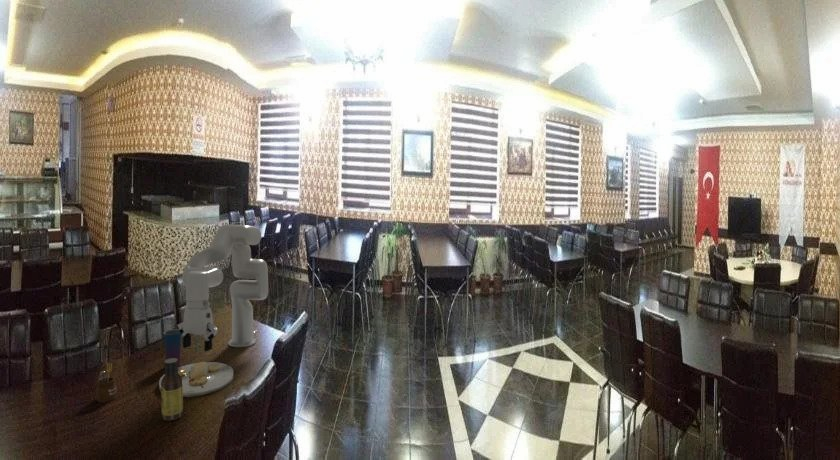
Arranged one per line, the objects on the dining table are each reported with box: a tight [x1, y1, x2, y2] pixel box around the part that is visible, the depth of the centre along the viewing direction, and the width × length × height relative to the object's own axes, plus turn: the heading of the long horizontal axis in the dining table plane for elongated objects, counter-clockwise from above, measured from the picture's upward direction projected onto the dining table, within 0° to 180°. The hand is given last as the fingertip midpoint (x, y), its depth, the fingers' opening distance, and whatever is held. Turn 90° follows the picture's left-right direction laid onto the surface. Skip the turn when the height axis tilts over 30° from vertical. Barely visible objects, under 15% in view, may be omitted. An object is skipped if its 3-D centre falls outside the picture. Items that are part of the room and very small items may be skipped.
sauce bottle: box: [160, 358, 184, 422], centre depth 143 cm, size 6×6×20 cm
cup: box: [162, 328, 183, 367], centre depth 182 cm, size 7×7×15 cm
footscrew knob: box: [189, 361, 208, 386], centre depth 163 cm, size 7×6×7 cm
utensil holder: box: [95, 362, 117, 403], centre depth 153 cm, size 6×6×12 cm
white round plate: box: [158, 361, 234, 398], centre depth 169 cm, size 26×26×4 cm
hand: (197, 348), depth 162 cm, fingers open, 9 cm apart
